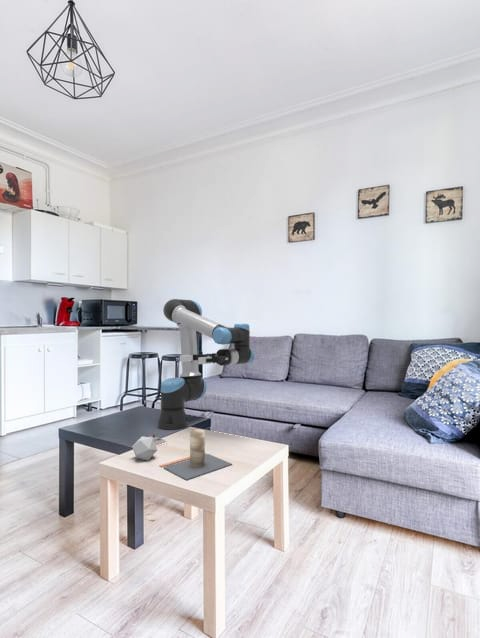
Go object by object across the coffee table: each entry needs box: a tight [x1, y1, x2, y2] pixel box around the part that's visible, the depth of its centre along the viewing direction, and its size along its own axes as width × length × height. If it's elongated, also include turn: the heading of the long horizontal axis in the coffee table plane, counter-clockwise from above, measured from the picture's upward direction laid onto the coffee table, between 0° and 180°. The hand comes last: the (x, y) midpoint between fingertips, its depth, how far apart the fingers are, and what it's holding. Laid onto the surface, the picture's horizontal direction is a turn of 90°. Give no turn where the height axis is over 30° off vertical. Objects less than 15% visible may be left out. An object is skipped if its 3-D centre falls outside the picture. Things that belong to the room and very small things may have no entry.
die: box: [132, 436, 158, 461], centre depth 140 cm, size 8×9×10 cm
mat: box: [163, 453, 233, 482], centre depth 132 cm, size 20×14×1 cm
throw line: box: [159, 452, 207, 468], centre depth 138 cm, size 20×2×1 cm, turn 133°
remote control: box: [144, 434, 167, 446], centre depth 160 cm, size 7×16×3 cm, turn 49°
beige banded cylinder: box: [189, 428, 206, 468], centre depth 132 cm, size 5×5×12 cm
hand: (189, 359), depth 157 cm, fingers open, 13 cm apart
